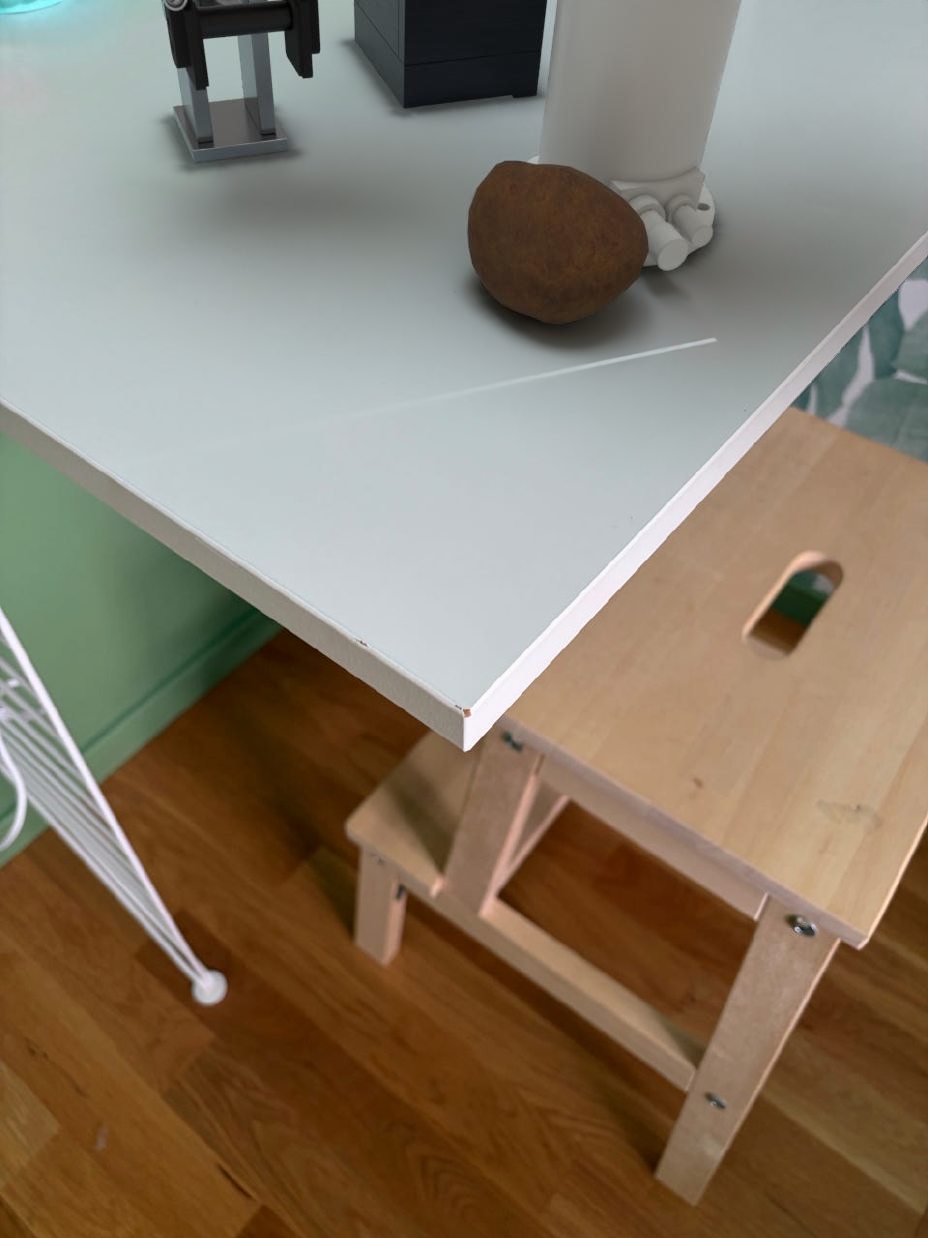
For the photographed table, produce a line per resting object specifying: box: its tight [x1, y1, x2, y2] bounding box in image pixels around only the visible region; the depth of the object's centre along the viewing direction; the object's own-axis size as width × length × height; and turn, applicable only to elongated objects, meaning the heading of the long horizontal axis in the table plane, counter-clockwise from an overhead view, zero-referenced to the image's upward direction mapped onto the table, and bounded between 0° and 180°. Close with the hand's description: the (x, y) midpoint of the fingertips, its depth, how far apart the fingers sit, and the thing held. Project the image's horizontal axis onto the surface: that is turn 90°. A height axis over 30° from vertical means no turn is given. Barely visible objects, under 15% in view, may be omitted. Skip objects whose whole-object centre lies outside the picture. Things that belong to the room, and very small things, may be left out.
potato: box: [466, 160, 649, 325], centre depth 54 cm, size 7×10×8 cm
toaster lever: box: [195, 0, 293, 40], centre depth 58 cm, size 10×5×2 cm, turn 21°
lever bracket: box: [160, 0, 289, 164], centre depth 63 cm, size 6×6×10 cm
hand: (248, 69), depth 56 cm, fingers closed on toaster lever, 5 cm apart
